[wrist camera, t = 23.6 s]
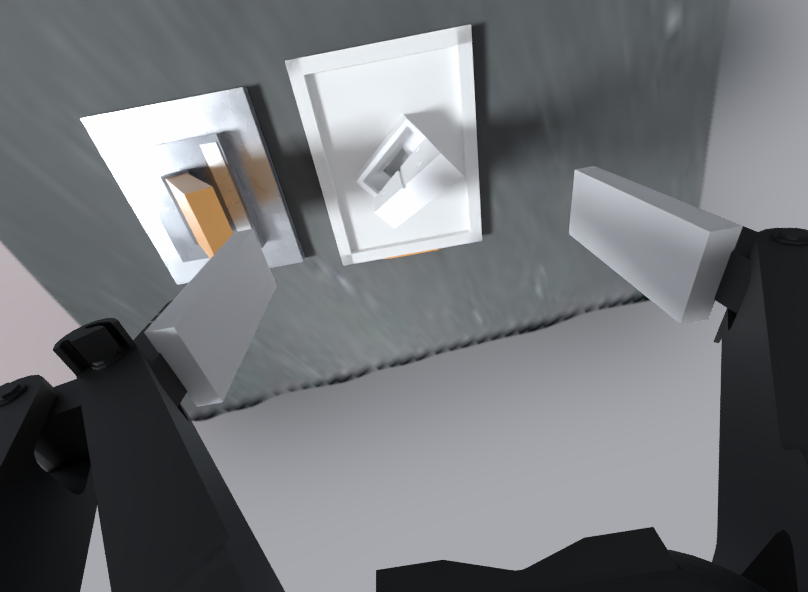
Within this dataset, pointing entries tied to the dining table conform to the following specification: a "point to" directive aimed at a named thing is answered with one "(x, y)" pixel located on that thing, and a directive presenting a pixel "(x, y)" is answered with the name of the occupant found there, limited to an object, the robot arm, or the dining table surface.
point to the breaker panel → (198, 173)
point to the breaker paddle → (199, 210)
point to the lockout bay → (373, 120)
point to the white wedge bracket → (406, 174)
